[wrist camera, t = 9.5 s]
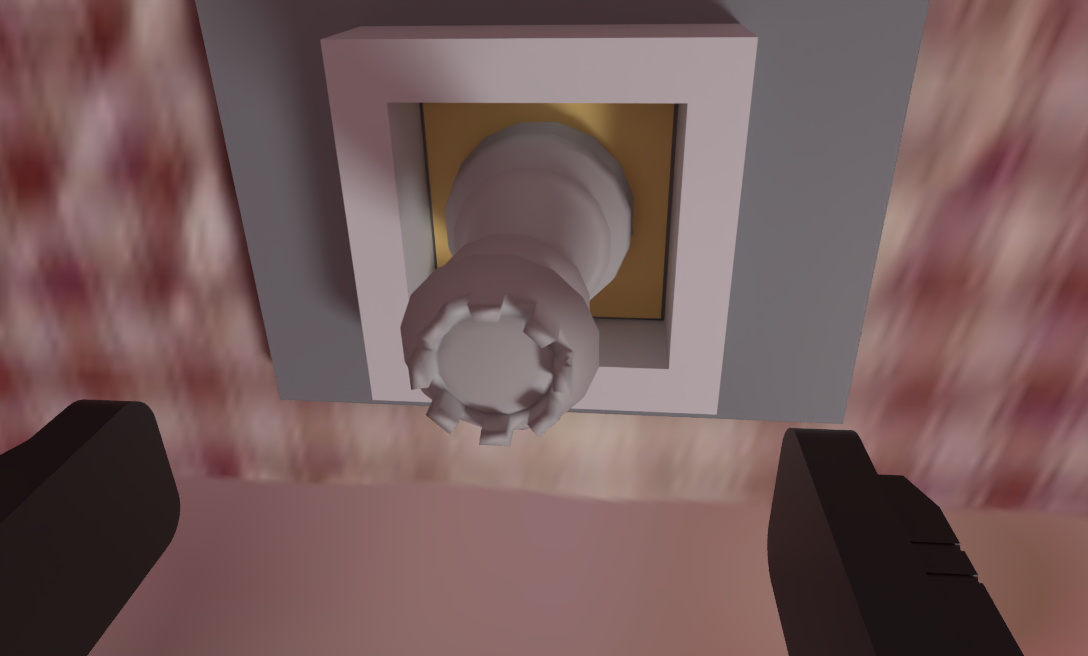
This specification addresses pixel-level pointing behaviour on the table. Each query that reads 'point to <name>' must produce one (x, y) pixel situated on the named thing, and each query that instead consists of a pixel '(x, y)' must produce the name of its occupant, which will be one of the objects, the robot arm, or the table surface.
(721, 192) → the square frame on plate
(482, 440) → the rook chess piece
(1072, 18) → the table surface
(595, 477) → the table surface
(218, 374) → the table surface
